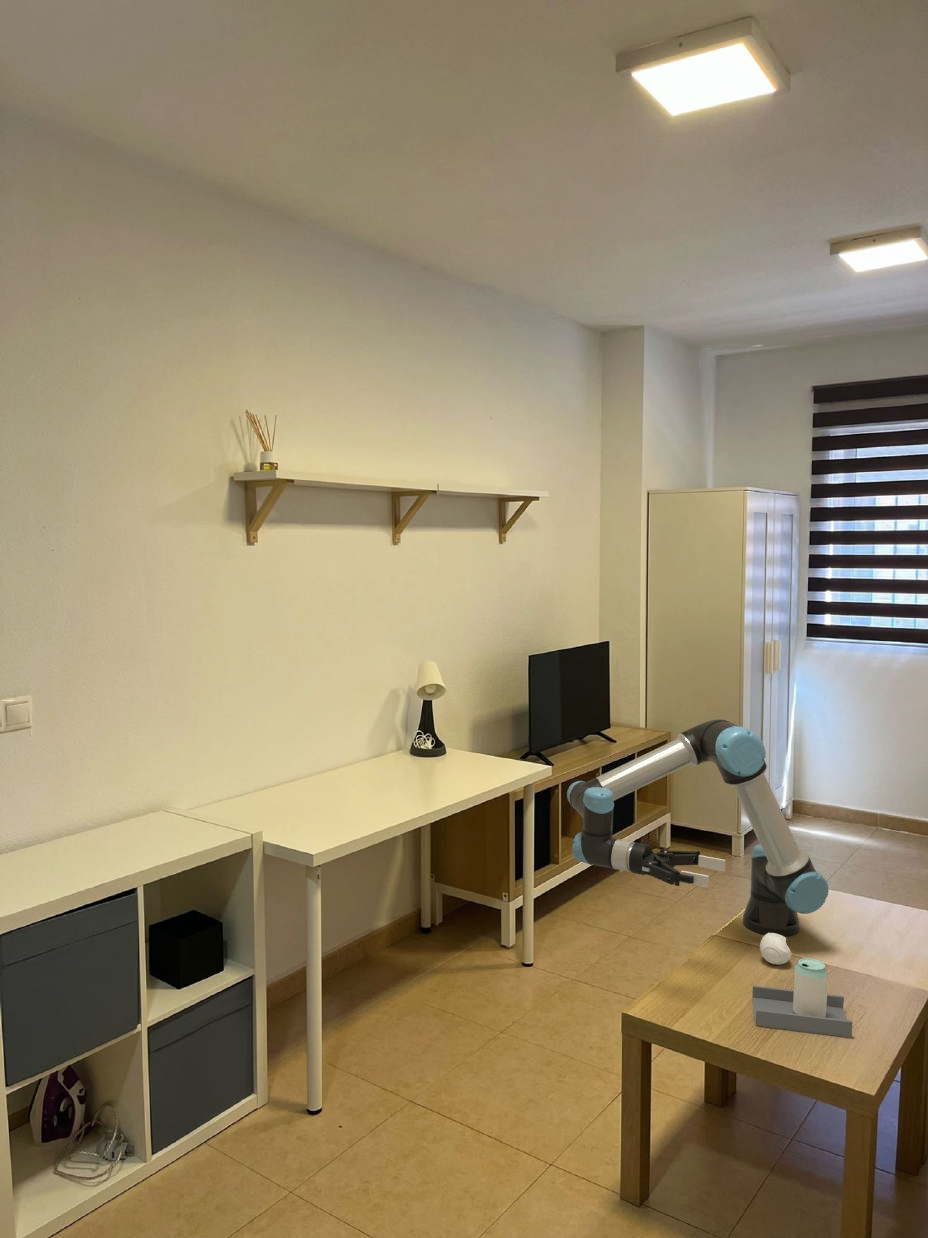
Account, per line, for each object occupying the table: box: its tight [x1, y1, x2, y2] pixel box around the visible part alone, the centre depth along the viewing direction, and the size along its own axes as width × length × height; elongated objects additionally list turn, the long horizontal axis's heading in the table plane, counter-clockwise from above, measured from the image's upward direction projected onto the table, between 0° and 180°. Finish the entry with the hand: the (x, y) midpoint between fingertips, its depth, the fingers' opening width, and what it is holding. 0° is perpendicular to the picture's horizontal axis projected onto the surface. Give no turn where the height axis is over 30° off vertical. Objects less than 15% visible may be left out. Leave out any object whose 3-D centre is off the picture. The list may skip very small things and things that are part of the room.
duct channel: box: [751, 985, 853, 1039], centre depth 215 cm, size 13×20×4 cm, turn 77°
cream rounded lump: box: [759, 933, 793, 966], centre depth 244 cm, size 8×8×8 cm
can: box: [793, 957, 829, 1017], centre depth 214 cm, size 7×7×12 cm
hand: (717, 873), depth 228 cm, fingers open, 13 cm apart
